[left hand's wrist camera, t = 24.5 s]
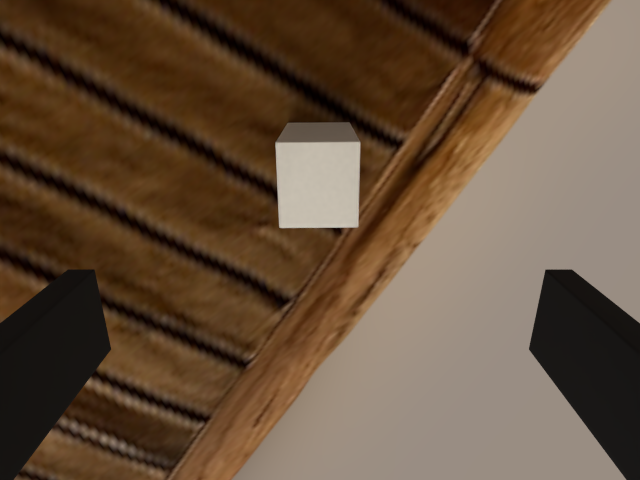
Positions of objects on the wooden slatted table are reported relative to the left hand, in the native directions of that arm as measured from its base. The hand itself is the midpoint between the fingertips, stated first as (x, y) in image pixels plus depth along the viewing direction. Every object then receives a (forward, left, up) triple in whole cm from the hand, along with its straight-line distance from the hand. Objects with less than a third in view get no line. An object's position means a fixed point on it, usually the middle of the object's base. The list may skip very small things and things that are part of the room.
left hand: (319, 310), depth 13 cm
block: (0, 0, -25) cm, 25 cm away
